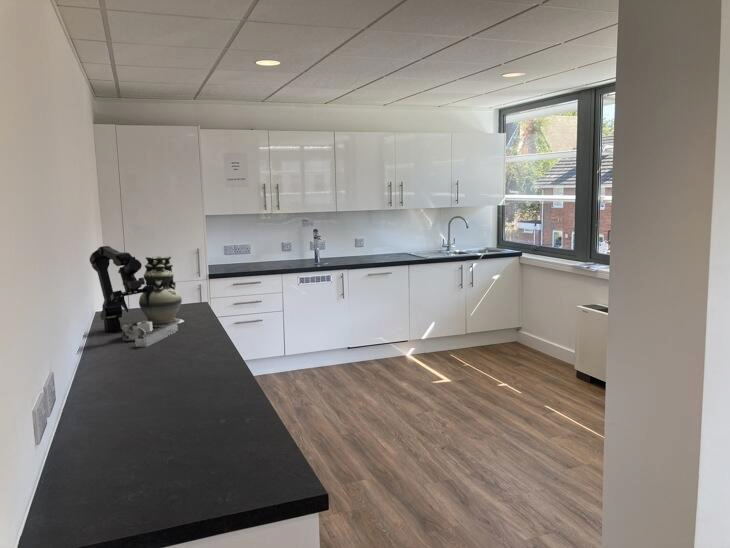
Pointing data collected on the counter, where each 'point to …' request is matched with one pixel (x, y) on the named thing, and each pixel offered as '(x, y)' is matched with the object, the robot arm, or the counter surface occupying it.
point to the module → (145, 325)
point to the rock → (132, 332)
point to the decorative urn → (161, 292)
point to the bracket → (157, 334)
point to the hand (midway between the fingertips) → (138, 309)
